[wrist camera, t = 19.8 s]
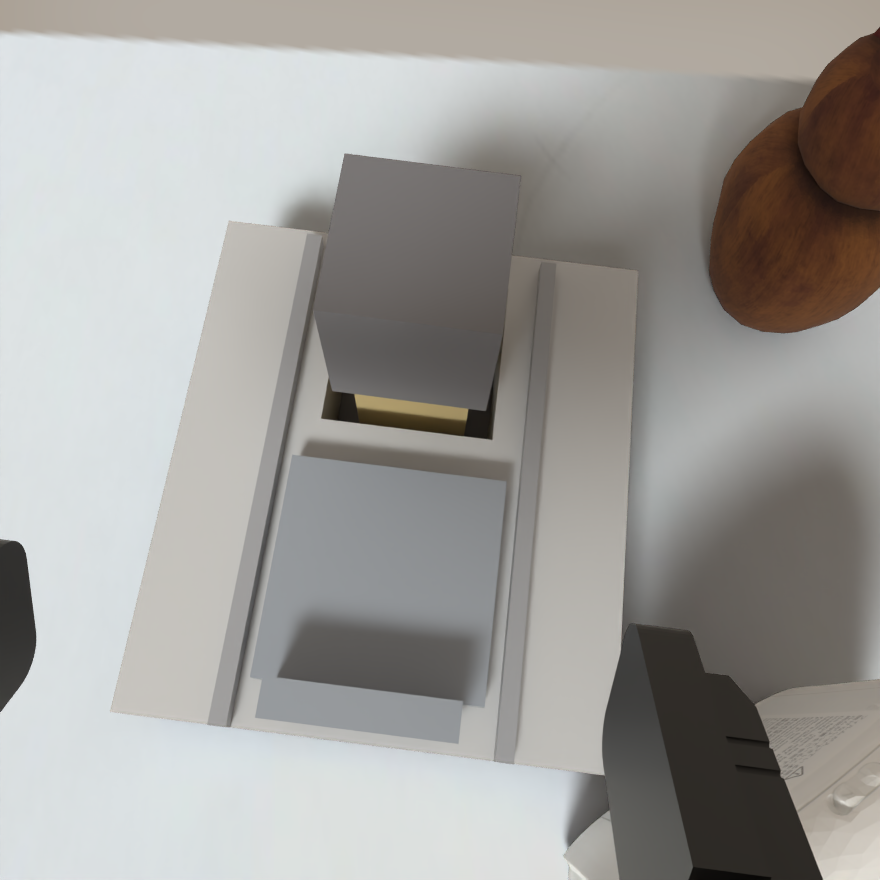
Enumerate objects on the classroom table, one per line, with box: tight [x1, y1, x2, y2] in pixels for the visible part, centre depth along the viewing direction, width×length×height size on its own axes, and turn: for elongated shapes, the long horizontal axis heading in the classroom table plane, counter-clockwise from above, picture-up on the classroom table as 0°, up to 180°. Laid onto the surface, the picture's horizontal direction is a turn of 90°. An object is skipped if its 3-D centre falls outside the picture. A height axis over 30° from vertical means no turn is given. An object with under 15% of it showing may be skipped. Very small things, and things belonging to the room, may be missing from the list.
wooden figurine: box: [709, 27, 880, 333], centre depth 26 cm, size 7×6×15 cm
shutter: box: [250, 455, 507, 744], centre depth 23 cm, size 6×7×3 cm
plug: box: [313, 154, 521, 436], centre depth 25 cm, size 5×5×10 cm
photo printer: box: [563, 679, 880, 880], centre depth 21 cm, size 10×4×12 cm, turn 123°
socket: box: [110, 221, 638, 775], centre depth 27 cm, size 14×16×5 cm
